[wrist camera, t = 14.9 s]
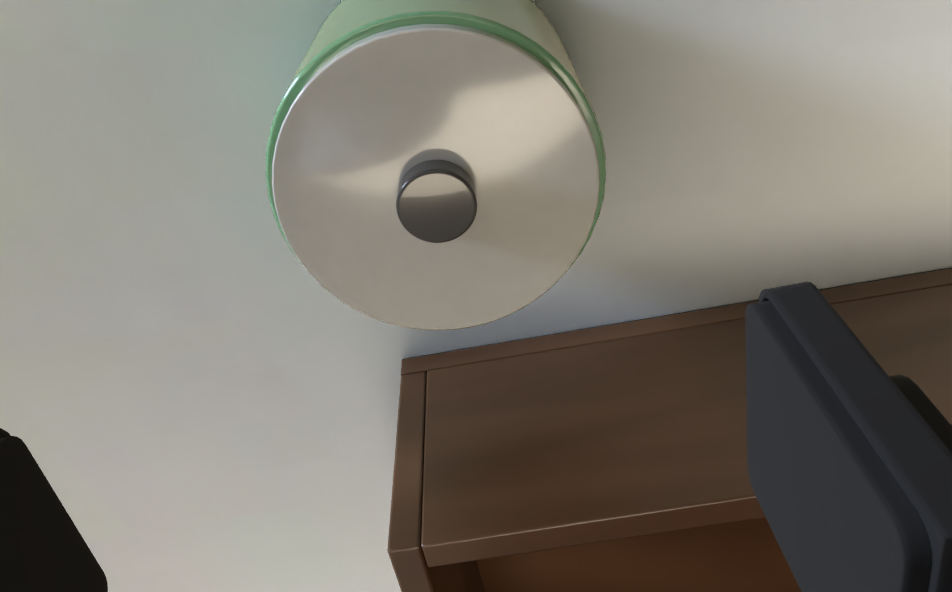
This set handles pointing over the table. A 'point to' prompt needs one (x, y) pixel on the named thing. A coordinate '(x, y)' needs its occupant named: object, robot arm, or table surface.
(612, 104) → the table surface
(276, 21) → the table surface
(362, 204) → the pot
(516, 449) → the box
